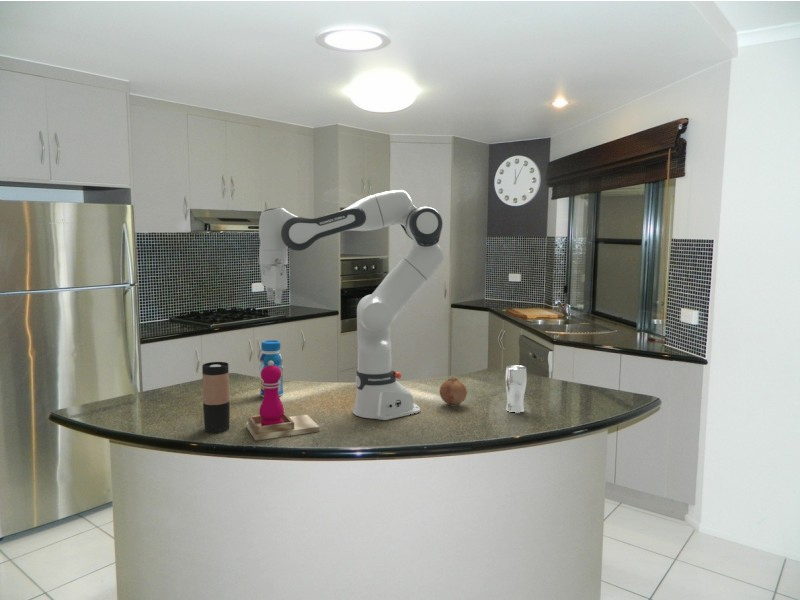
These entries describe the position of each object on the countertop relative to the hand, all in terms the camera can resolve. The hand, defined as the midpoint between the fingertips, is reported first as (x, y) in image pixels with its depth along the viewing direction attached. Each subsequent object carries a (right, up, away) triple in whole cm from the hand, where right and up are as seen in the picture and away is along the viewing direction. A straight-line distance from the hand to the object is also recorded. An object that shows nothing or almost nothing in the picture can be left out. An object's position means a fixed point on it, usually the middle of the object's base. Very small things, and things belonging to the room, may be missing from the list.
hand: (274, 302), depth 188 cm
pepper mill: (+2, -37, -13) cm, 40 cm away
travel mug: (-15, -39, -11) cm, 43 cm away
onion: (+59, -36, +15) cm, 71 cm away
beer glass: (+79, -37, +9) cm, 88 cm away
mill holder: (+5, -39, -11) cm, 40 cm away
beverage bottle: (-7, -35, +26) cm, 44 cm away
